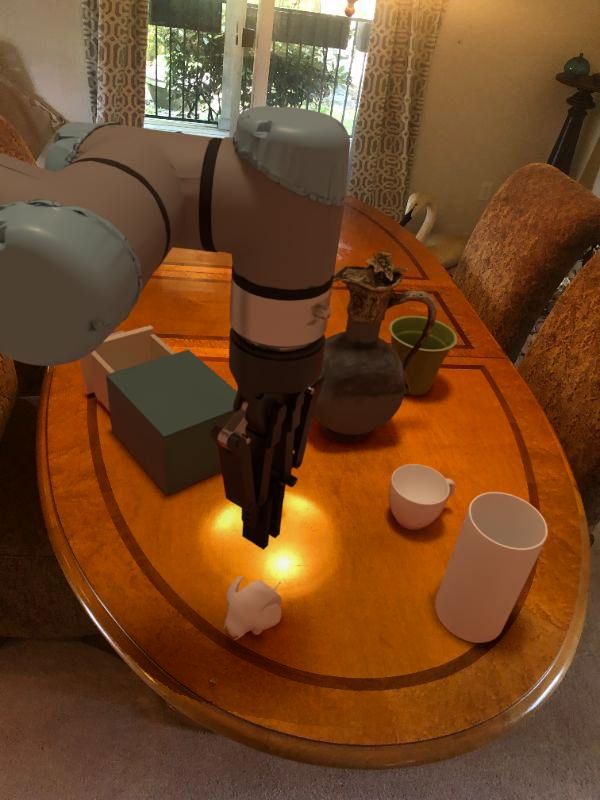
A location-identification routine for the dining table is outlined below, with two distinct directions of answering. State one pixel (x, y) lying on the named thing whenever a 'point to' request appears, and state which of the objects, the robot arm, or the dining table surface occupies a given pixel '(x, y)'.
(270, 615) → the elephant figurine
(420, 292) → the pitcher
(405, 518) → the cup
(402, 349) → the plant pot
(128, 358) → the drawer
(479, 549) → the cup
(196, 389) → the cabinet
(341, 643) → the dining table surface
